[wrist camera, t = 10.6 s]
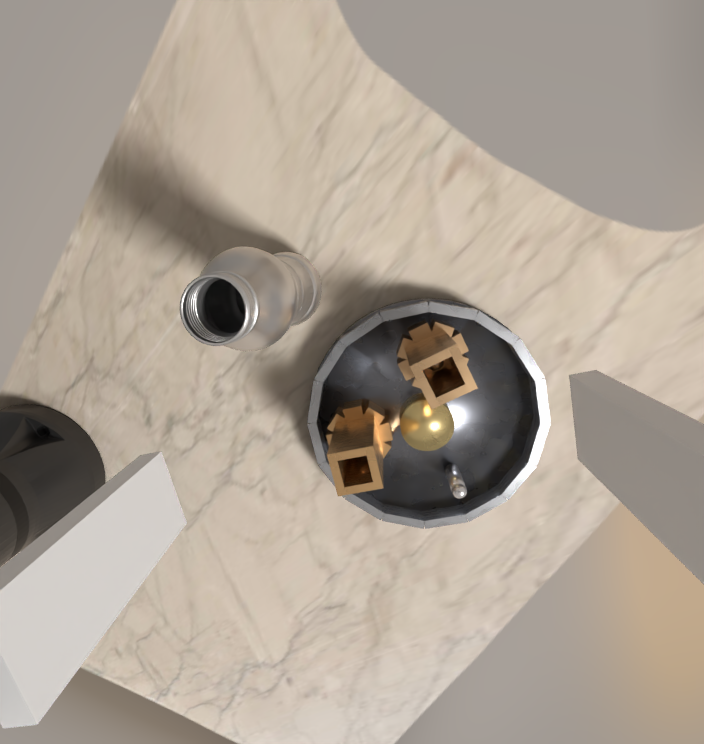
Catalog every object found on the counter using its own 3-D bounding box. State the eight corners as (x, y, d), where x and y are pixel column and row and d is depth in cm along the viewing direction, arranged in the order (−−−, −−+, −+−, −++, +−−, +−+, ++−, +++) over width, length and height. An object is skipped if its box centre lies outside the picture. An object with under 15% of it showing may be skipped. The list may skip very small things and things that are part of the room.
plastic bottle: (249, 306, 42) (135, 344, 22) (274, 240, 40) (175, 219, 20) (309, 333, 42) (248, 394, 22) (336, 269, 40) (296, 276, 21)
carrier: (339, 527, 47) (334, 563, 41) (286, 326, 42) (271, 336, 36) (551, 493, 44) (577, 527, 39) (524, 274, 39) (548, 276, 33)
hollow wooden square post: (338, 462, 44) (327, 511, 35) (323, 406, 42) (308, 444, 34) (396, 451, 43) (401, 498, 34) (383, 394, 42) (384, 428, 33)
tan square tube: (414, 394, 41) (424, 429, 33) (386, 338, 40) (388, 359, 32) (473, 366, 40) (499, 394, 32) (446, 308, 39) (465, 321, 30)
